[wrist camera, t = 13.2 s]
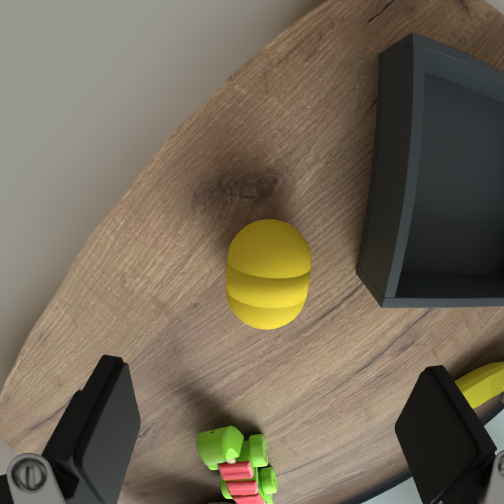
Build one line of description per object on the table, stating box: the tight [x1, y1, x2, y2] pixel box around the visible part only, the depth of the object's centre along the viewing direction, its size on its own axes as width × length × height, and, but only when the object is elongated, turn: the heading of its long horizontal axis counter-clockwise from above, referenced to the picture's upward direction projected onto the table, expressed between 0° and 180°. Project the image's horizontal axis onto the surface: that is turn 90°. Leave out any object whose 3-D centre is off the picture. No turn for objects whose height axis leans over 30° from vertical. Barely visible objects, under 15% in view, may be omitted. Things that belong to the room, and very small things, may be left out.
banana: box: [454, 362, 504, 409], centre depth 29 cm, size 5×17×15 cm
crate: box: [356, 33, 504, 308], centre depth 19 cm, size 18×17×6 cm
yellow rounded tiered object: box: [226, 219, 311, 329], centre depth 22 cm, size 8×6×6 cm
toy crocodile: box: [197, 426, 277, 504], centre depth 30 cm, size 20×7×6 cm, turn 11°
